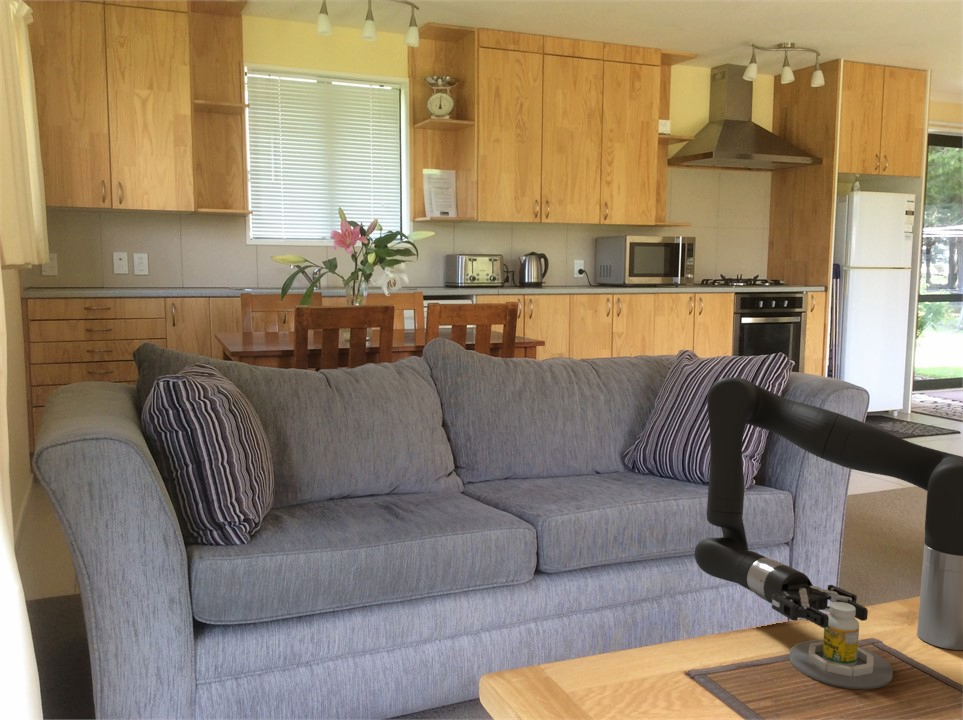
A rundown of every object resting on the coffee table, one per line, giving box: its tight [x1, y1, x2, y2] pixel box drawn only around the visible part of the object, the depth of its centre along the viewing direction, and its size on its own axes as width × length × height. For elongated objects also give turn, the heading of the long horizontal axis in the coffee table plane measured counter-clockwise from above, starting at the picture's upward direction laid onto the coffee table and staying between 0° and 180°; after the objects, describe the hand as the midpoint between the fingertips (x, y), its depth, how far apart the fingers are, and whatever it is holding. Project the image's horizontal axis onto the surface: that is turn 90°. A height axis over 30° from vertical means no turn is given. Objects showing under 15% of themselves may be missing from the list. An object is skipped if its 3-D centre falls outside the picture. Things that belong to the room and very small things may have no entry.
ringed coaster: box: [789, 639, 894, 690], centre depth 142 cm, size 16×16×2 cm
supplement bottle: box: [822, 602, 860, 666], centre depth 142 cm, size 5×5×10 cm
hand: (846, 618), depth 141 cm, fingers open, 8 cm apart
